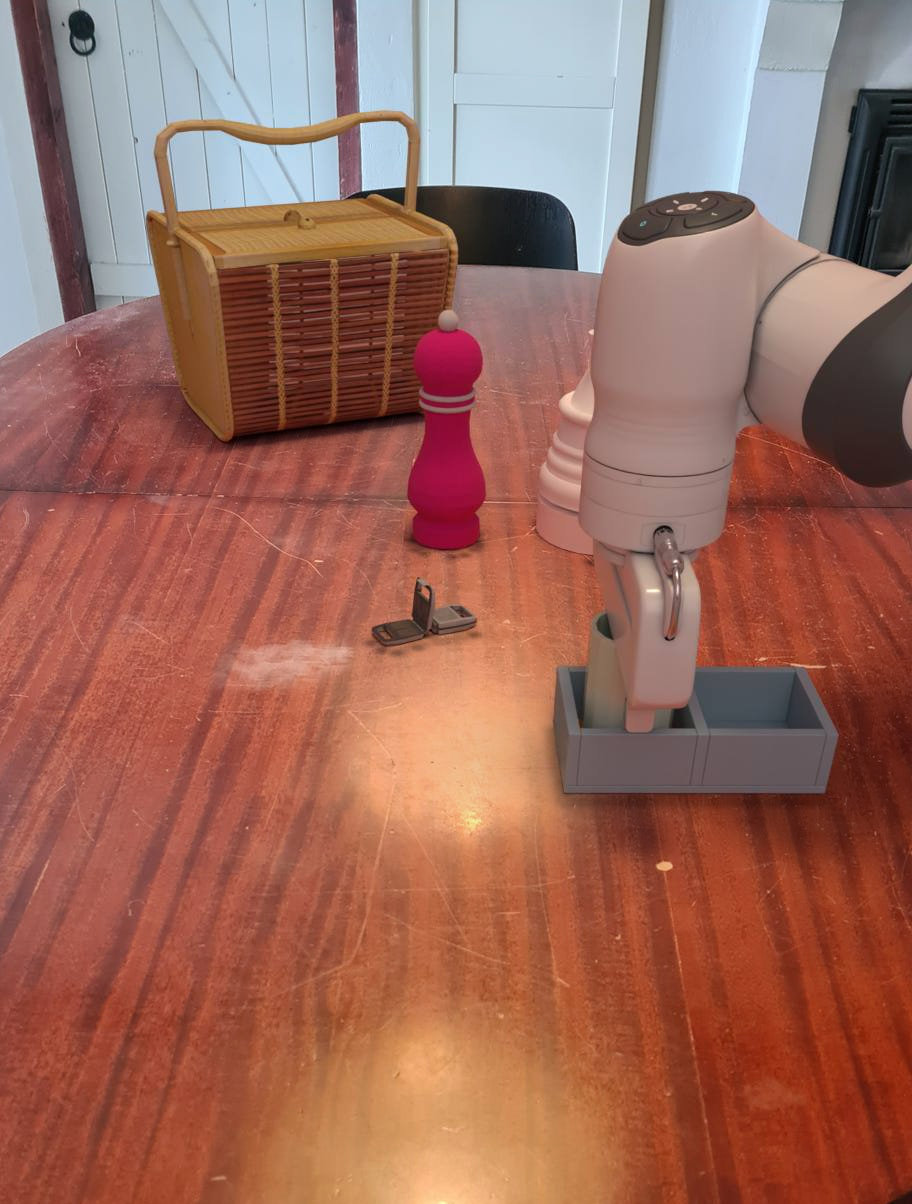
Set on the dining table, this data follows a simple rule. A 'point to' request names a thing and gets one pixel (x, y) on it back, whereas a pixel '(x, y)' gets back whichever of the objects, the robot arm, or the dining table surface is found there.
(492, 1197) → the dining table surface
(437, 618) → the strap clip
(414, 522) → the pepper mill
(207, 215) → the picnic basket
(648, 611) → the robot arm
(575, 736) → the holder
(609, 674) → the cup
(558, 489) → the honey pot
